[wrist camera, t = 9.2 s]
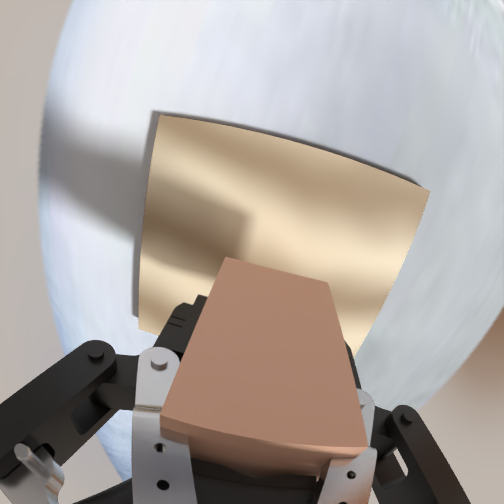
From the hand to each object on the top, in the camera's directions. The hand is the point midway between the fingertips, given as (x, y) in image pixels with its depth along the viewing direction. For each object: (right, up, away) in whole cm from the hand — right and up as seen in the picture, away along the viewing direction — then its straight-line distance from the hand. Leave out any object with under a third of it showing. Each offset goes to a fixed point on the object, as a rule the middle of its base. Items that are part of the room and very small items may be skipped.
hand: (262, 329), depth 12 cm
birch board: (+1, +3, +6) cm, 6 cm away
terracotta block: (0, 0, +1) cm, 1 cm away
